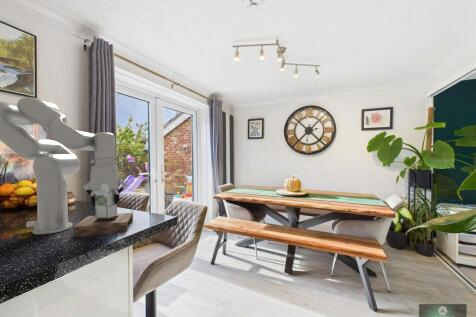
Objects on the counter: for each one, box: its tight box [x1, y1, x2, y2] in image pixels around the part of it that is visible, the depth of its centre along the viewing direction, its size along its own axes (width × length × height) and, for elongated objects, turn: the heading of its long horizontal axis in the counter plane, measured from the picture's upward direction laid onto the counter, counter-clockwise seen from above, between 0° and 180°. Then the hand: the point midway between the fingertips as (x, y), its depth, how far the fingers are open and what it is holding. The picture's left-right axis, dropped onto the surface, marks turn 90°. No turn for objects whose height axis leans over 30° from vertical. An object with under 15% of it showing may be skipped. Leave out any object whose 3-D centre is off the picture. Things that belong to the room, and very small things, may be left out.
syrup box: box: [94, 183, 118, 218], centre depth 89 cm, size 6×6×14 cm
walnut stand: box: [72, 212, 134, 238], centre depth 89 cm, size 18×15×4 cm
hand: (106, 204), depth 89 cm, fingers closed on syrup box, 7 cm apart
